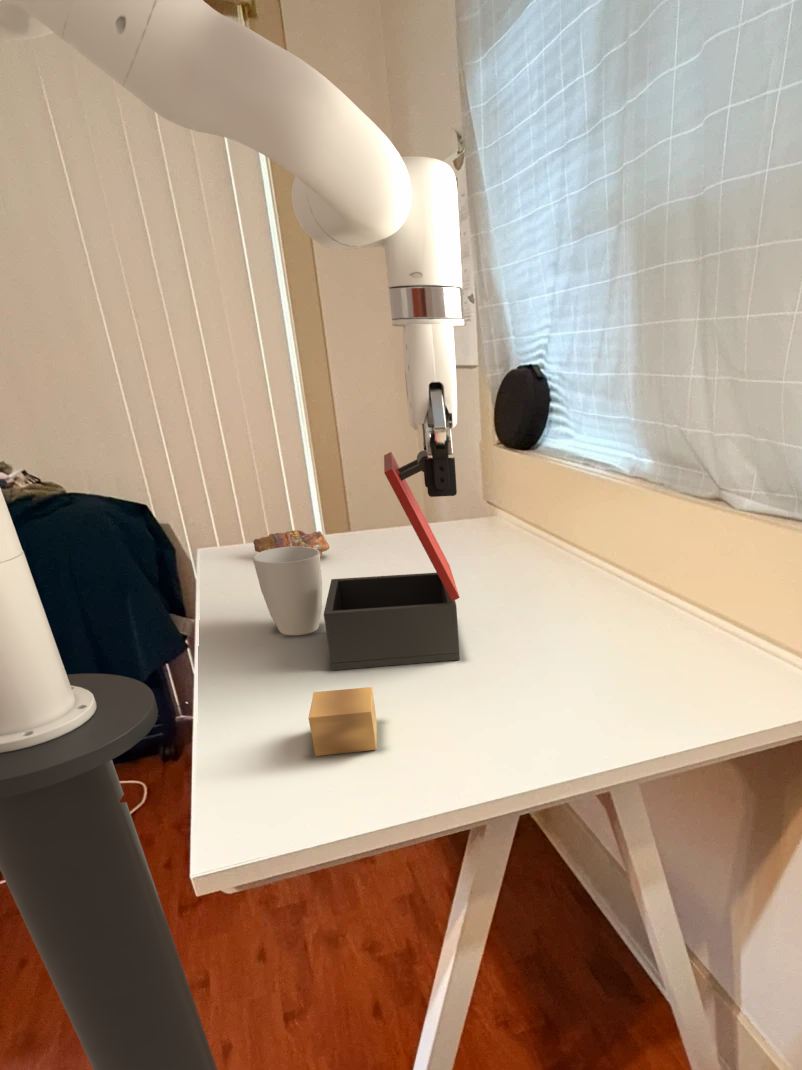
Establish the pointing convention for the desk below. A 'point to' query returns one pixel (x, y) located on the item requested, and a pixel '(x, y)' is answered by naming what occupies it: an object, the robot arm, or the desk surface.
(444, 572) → the lid
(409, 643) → the dark tray bin
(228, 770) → the desk surface
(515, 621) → the desk surface
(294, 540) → the mineral specimen
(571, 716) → the desk surface
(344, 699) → the wooden block
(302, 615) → the cup
